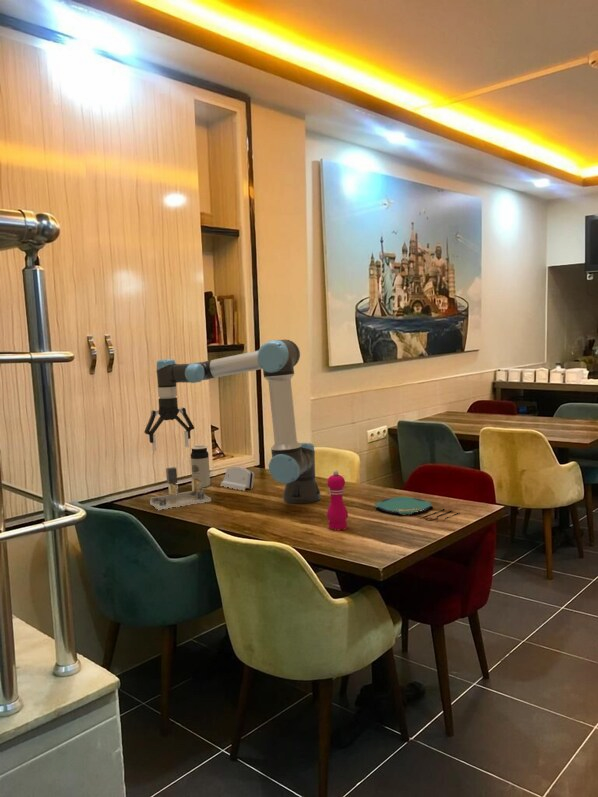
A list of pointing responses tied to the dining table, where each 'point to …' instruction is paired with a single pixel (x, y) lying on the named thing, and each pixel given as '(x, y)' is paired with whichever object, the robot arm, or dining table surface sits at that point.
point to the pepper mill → (336, 502)
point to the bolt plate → (181, 497)
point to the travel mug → (200, 464)
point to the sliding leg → (172, 480)
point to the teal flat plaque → (403, 505)
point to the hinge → (238, 478)
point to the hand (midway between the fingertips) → (170, 448)
